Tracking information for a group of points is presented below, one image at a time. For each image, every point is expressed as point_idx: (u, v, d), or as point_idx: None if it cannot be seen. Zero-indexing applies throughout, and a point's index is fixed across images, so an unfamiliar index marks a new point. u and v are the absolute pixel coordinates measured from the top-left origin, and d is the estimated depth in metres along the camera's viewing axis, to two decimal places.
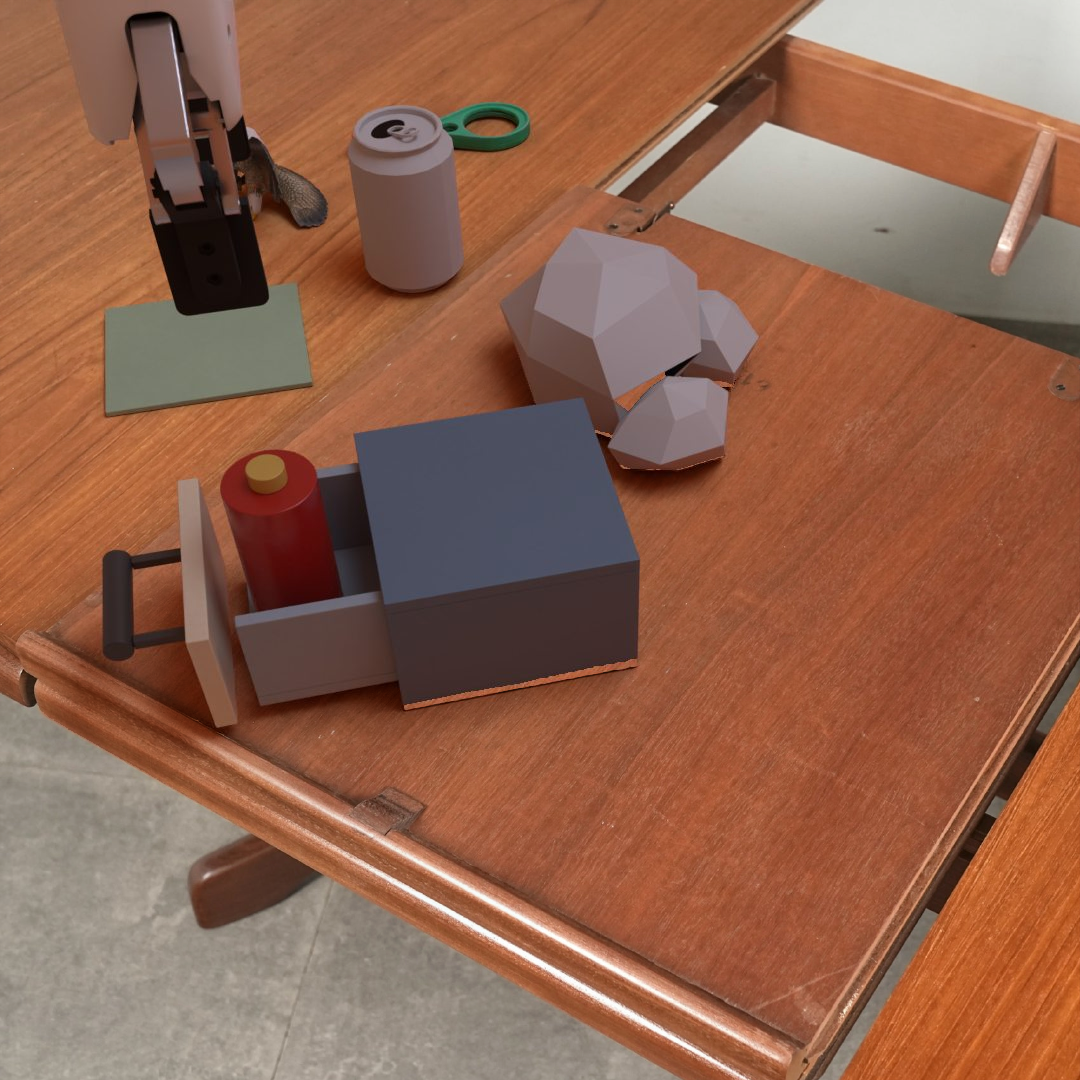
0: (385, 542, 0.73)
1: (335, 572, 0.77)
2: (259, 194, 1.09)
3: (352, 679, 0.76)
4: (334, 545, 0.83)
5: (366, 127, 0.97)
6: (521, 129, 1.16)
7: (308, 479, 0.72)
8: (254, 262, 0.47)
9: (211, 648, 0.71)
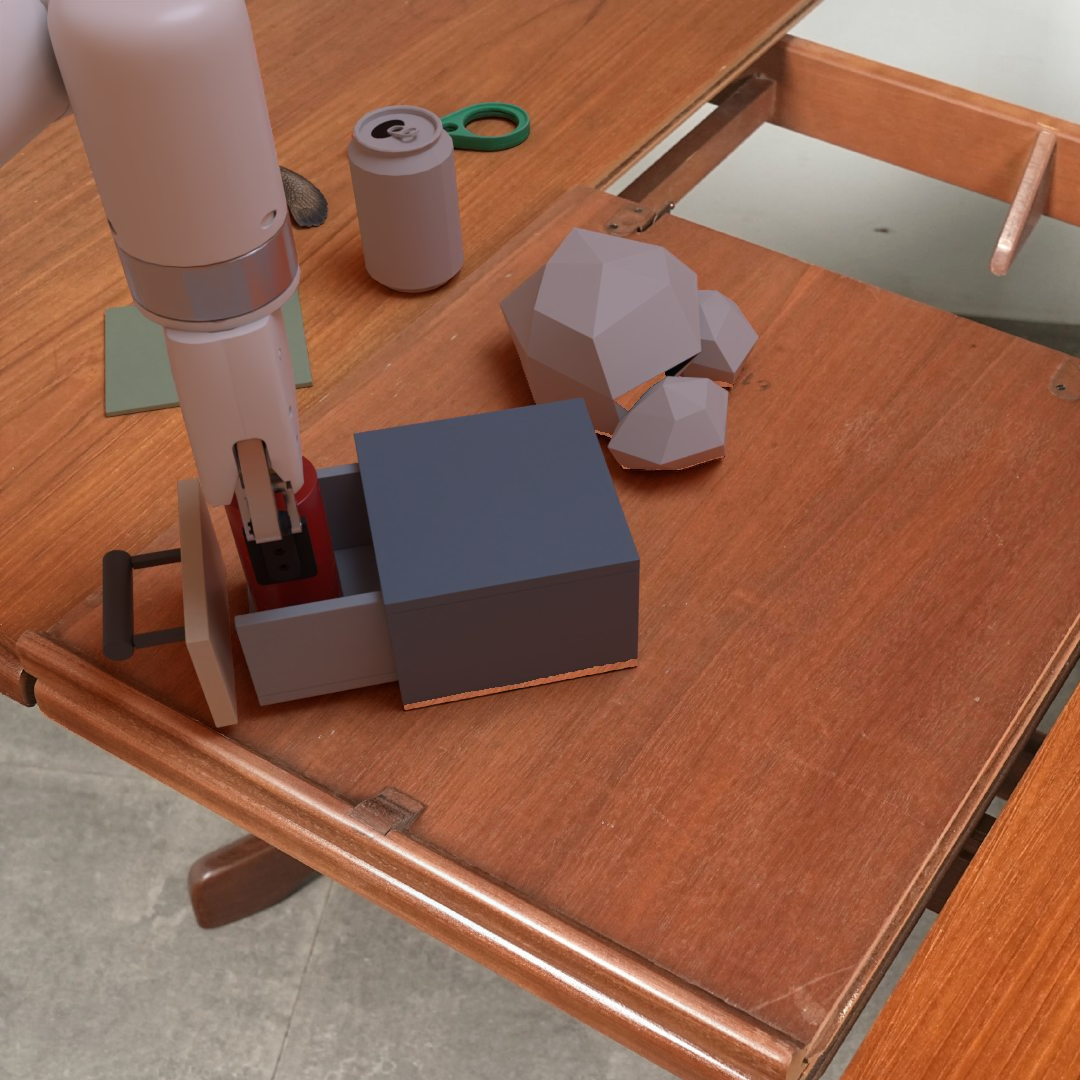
0: (385, 542, 0.73)
1: (335, 572, 0.77)
2: None
3: (352, 679, 0.76)
4: (334, 545, 0.83)
5: (366, 127, 0.97)
6: (521, 129, 1.16)
7: (308, 479, 0.72)
8: (309, 553, 0.72)
9: (211, 648, 0.71)
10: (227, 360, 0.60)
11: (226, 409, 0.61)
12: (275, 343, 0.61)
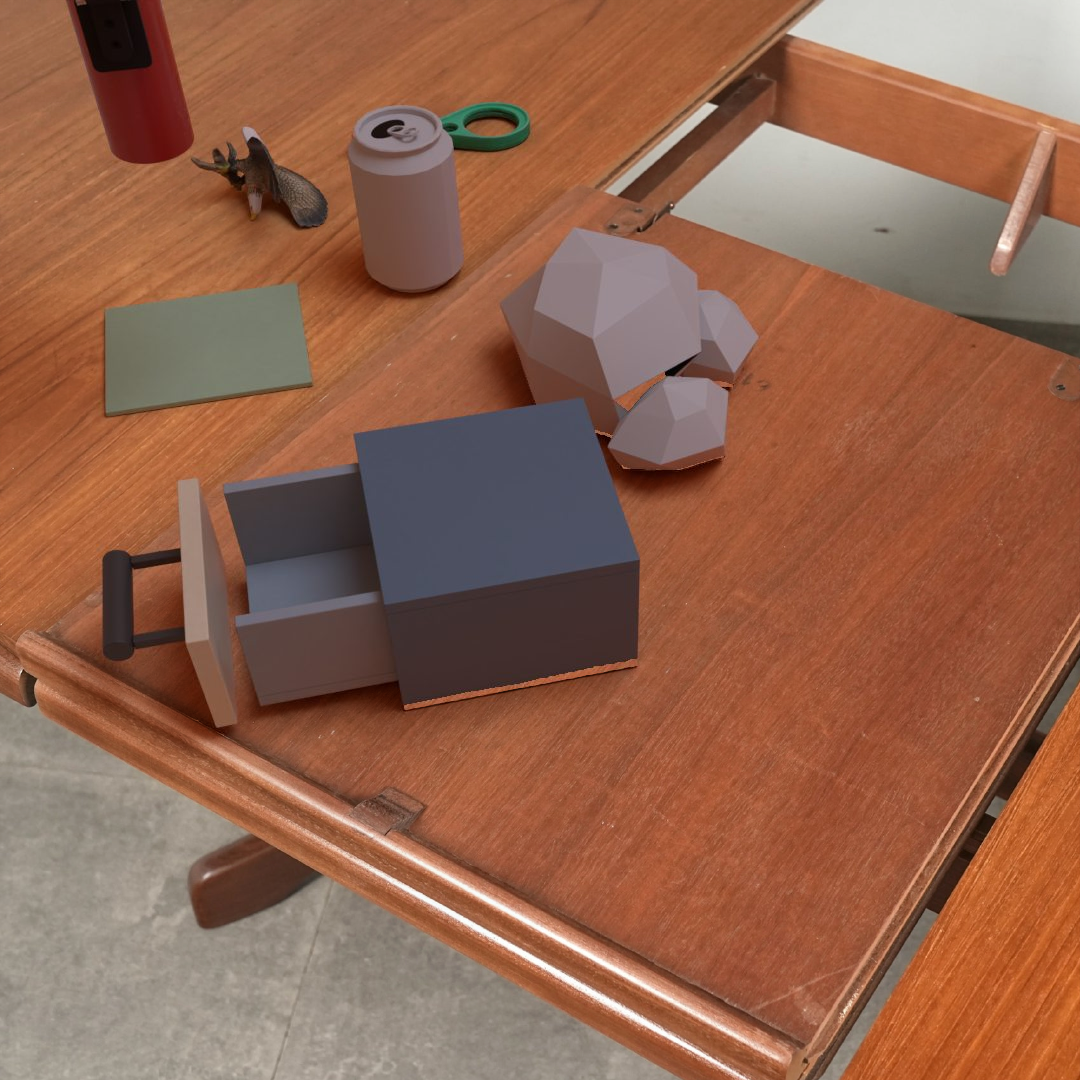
0: (385, 542, 0.73)
1: (177, 84, 0.81)
2: (259, 194, 1.09)
3: (352, 679, 0.76)
4: (334, 545, 0.83)
5: (366, 127, 0.97)
6: (521, 129, 1.16)
7: None
8: (141, 36, 0.76)
9: (211, 648, 0.71)
10: None
11: None
12: None
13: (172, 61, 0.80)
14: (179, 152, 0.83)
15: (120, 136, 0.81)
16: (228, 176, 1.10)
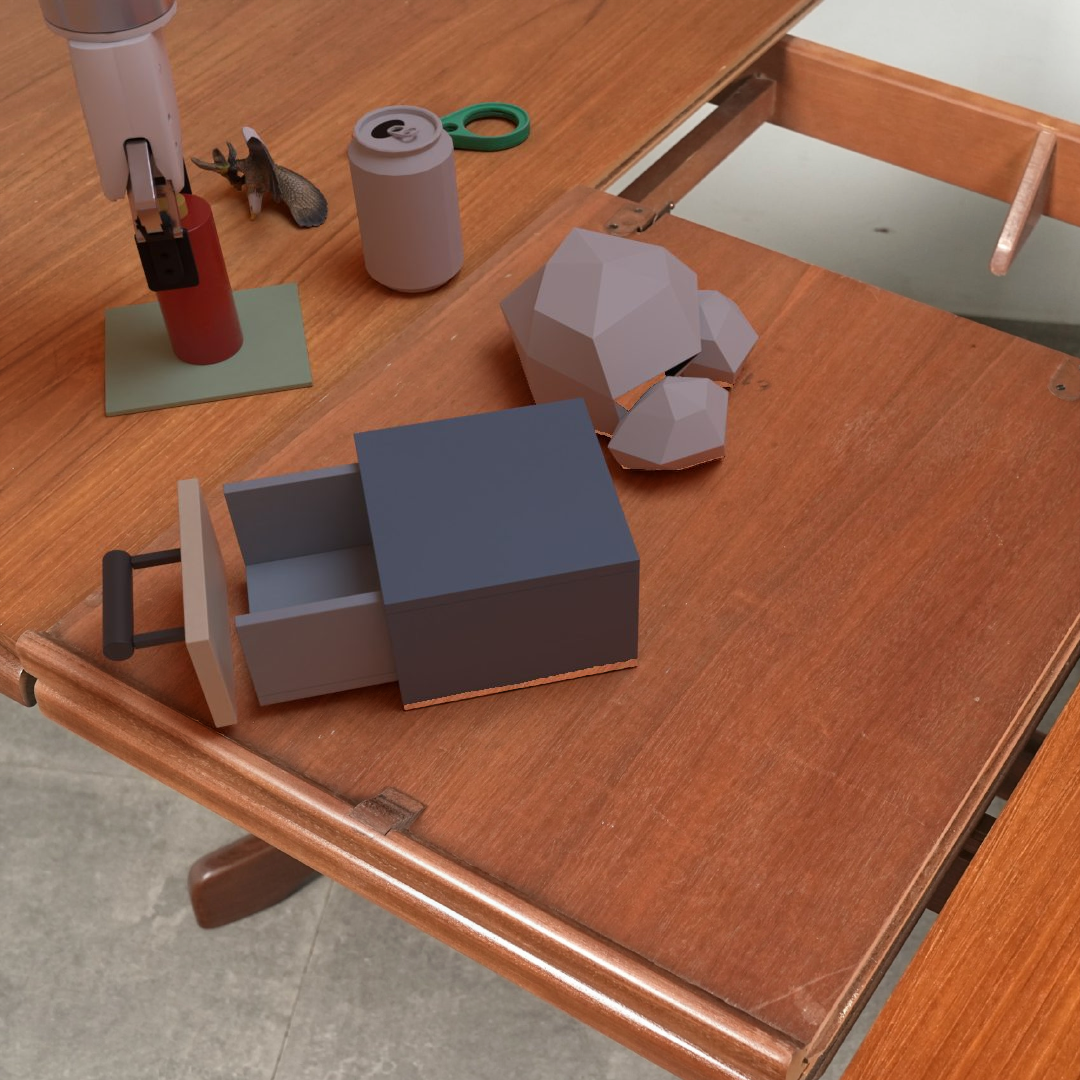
0: (385, 542, 0.73)
1: (231, 301, 0.95)
2: (259, 194, 1.09)
3: (352, 679, 0.76)
4: (334, 545, 0.83)
5: (366, 127, 0.97)
6: (521, 129, 1.16)
7: (204, 213, 0.91)
8: (191, 262, 0.88)
9: (211, 648, 0.71)
10: (116, 66, 0.78)
11: (117, 109, 0.79)
12: (155, 57, 0.79)
13: (227, 283, 0.94)
14: (231, 354, 0.97)
15: (182, 344, 0.96)
16: (228, 176, 1.10)
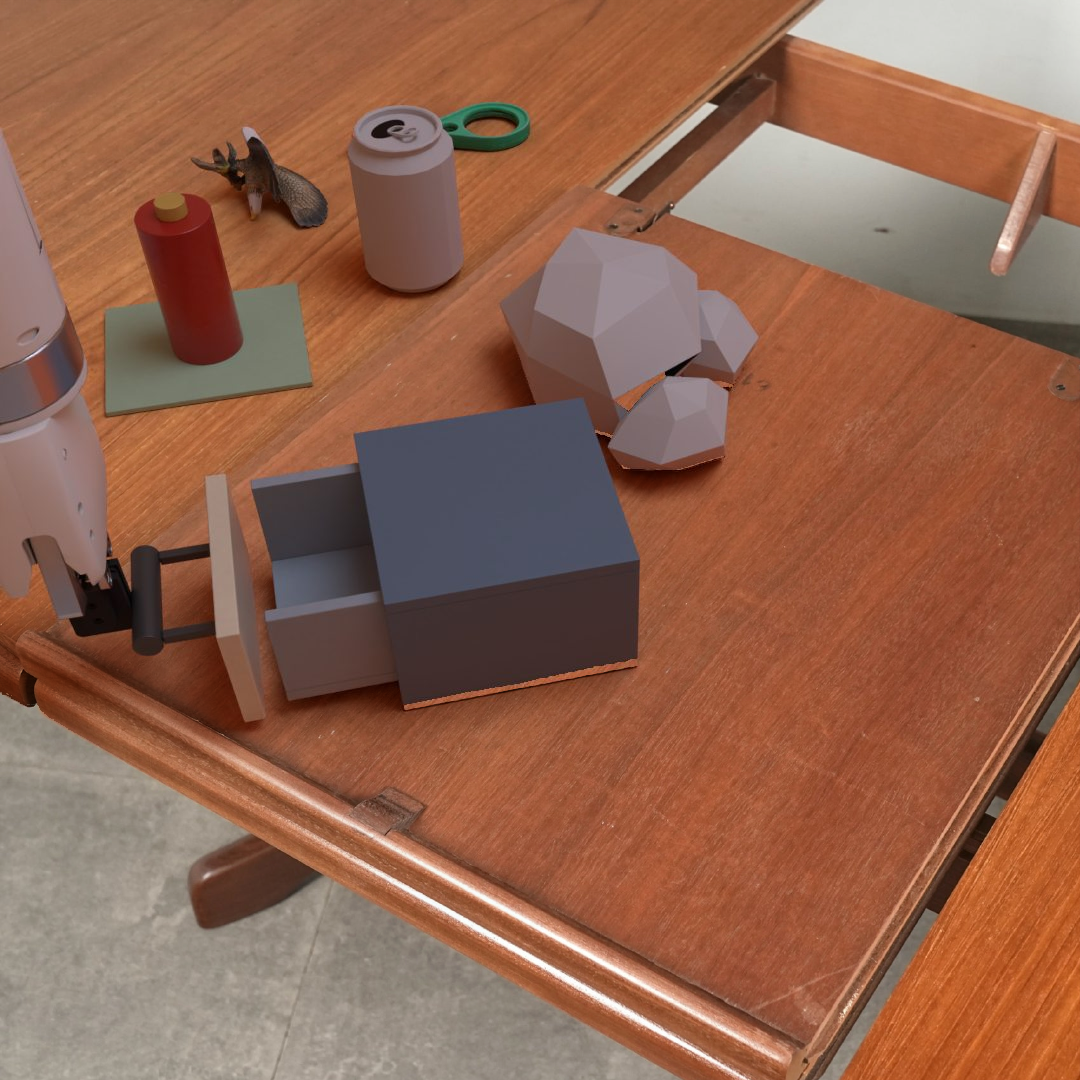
0: (385, 542, 0.73)
1: (231, 301, 0.95)
2: (259, 194, 1.09)
3: (379, 674, 0.77)
4: (360, 541, 0.83)
5: (366, 127, 0.97)
6: (521, 129, 1.16)
7: (204, 213, 0.91)
8: (124, 607, 0.74)
9: (241, 643, 0.71)
10: (7, 463, 0.61)
11: (10, 509, 0.63)
12: (57, 444, 0.62)
13: (227, 283, 0.94)
14: (231, 354, 0.97)
15: (182, 344, 0.96)
16: (228, 176, 1.10)
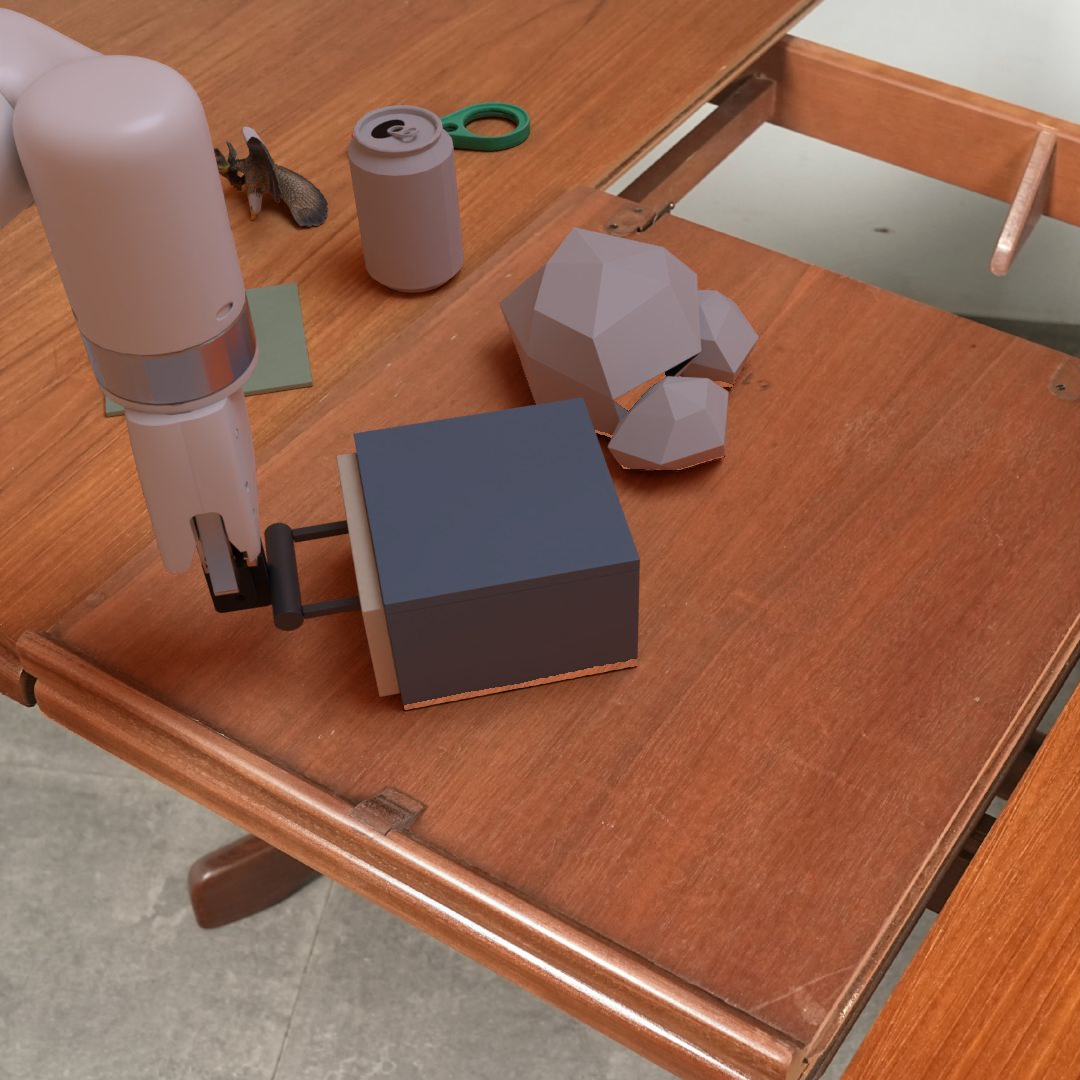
0: (385, 542, 0.73)
1: None
2: (259, 194, 1.09)
3: None
4: None
5: (366, 127, 0.97)
6: (521, 129, 1.16)
7: None
8: (265, 584, 0.76)
9: (385, 617, 0.72)
10: (185, 441, 0.63)
11: (184, 486, 0.64)
12: (232, 424, 0.64)
13: None
14: None
15: None
16: (228, 176, 1.10)
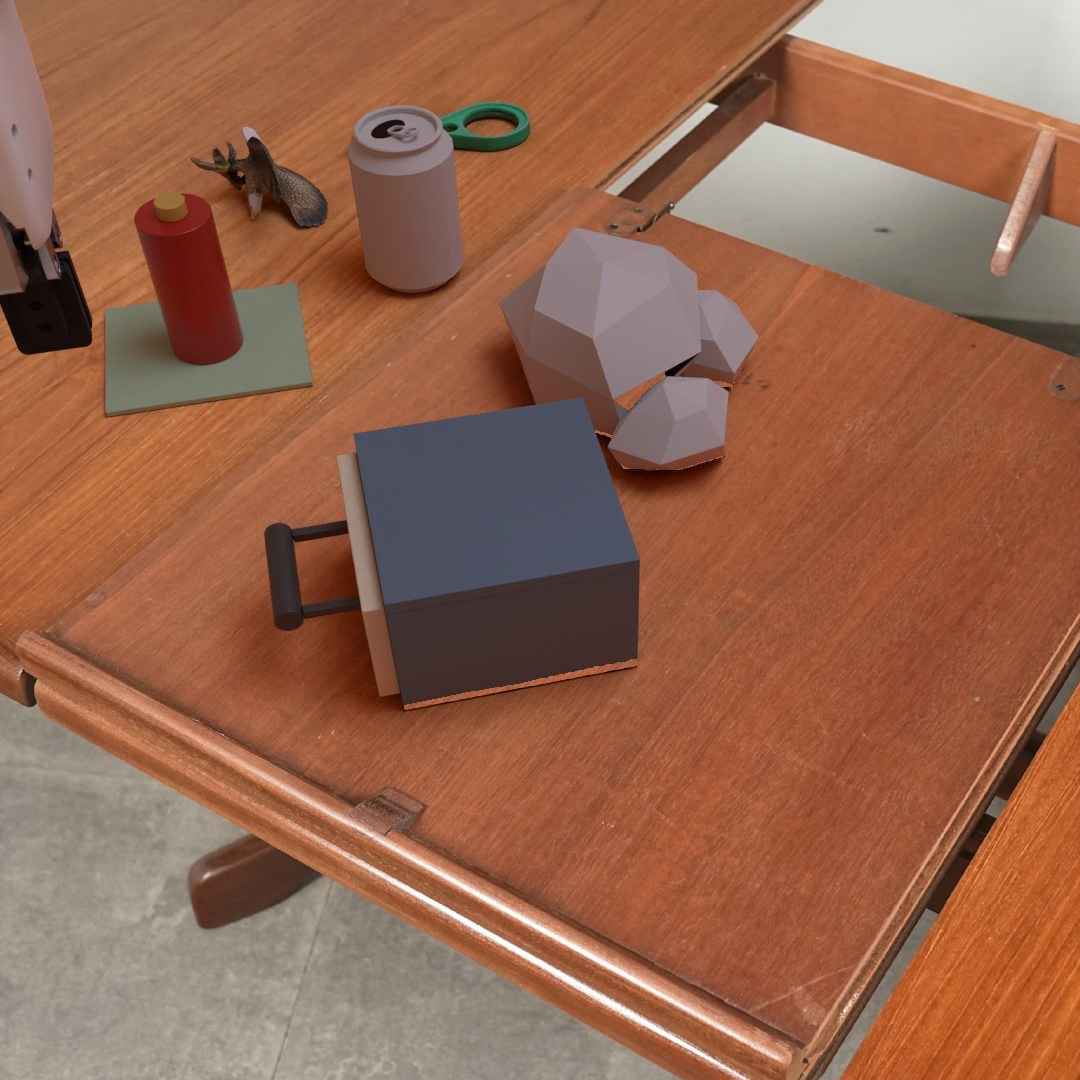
0: (385, 542, 0.73)
1: (231, 301, 0.95)
2: (259, 194, 1.09)
3: None
4: None
5: (366, 127, 0.97)
6: (521, 129, 1.16)
7: (204, 213, 0.91)
8: (77, 313, 0.61)
9: (385, 617, 0.72)
10: None
11: None
12: None
13: (227, 283, 0.94)
14: (231, 354, 0.97)
15: (182, 344, 0.96)
16: (228, 176, 1.10)
